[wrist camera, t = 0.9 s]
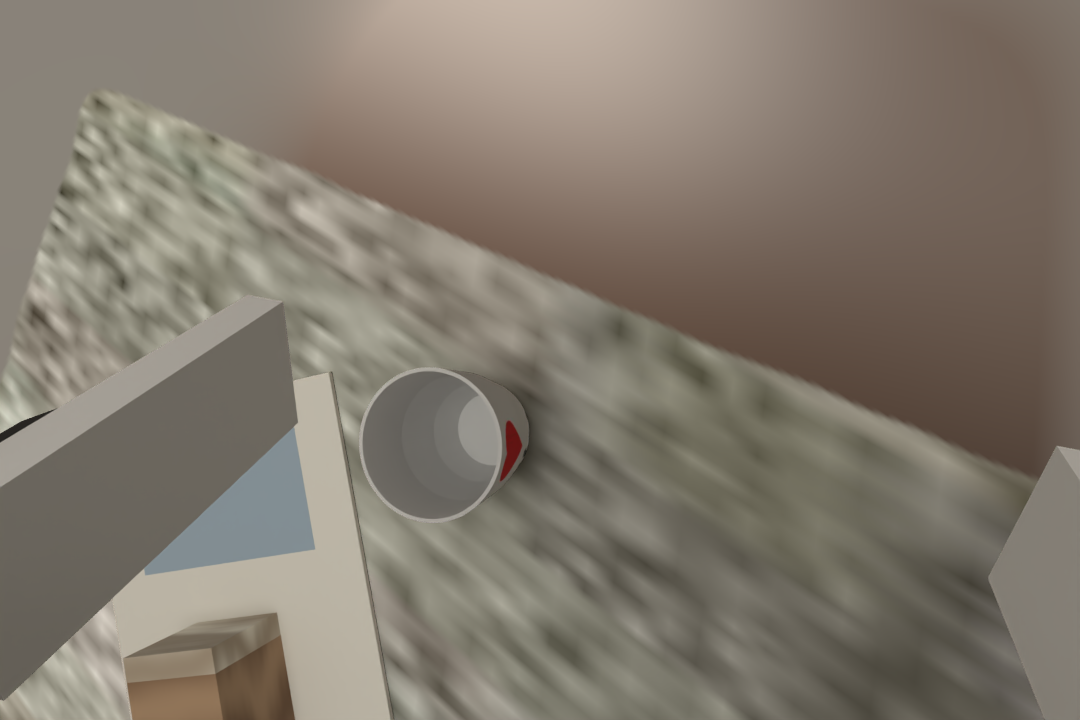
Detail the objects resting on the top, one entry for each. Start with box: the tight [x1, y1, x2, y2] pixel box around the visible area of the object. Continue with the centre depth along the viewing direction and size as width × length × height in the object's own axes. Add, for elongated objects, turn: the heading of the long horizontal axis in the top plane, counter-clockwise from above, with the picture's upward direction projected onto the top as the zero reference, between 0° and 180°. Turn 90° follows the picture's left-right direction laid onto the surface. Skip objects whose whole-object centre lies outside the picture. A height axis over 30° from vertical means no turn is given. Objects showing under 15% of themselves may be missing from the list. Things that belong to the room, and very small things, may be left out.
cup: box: [359, 367, 529, 523], centre depth 41 cm, size 8×8×10 cm
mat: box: [112, 372, 394, 720], centre depth 51 cm, size 30×22×1 cm
